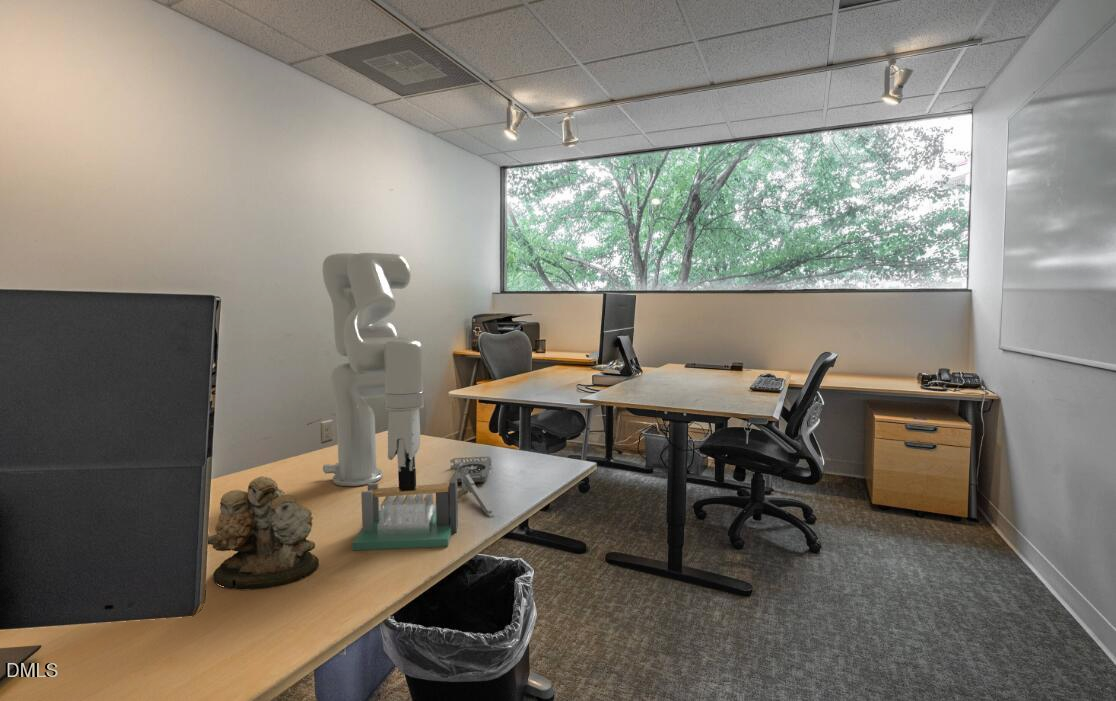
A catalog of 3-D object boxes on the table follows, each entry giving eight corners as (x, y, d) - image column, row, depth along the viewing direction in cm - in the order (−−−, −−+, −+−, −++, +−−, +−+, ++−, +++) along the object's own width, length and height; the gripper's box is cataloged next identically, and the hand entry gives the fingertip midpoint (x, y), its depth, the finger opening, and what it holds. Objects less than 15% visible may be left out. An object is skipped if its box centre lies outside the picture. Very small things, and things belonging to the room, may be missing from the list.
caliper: (461, 490, 135) (460, 466, 134) (465, 489, 135) (465, 465, 134) (489, 519, 117) (489, 491, 116) (494, 518, 117) (494, 490, 116)
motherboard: (352, 550, 101) (350, 502, 100) (374, 517, 117) (372, 475, 116) (447, 546, 103) (446, 498, 102) (456, 513, 119) (455, 472, 118)
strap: (365, 498, 107) (364, 493, 107) (369, 493, 110) (368, 488, 110) (448, 493, 108) (448, 487, 108) (450, 487, 111) (449, 482, 111)
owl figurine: (191, 595, 86) (184, 493, 85) (225, 561, 98) (219, 471, 96) (308, 585, 89) (303, 486, 87) (328, 553, 100) (323, 465, 99)
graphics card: (450, 457, 153) (492, 455, 153) (451, 469, 153) (493, 467, 154) (441, 476, 136) (487, 474, 137) (441, 490, 137) (488, 488, 137)
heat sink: (377, 535, 104) (376, 505, 104) (389, 515, 114) (388, 488, 114) (429, 533, 105) (428, 503, 105) (436, 513, 115) (435, 486, 115)
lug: (436, 533, 109) (435, 483, 108) (439, 525, 112) (437, 477, 111) (456, 532, 109) (455, 482, 108) (458, 525, 113) (457, 477, 112)
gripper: (394, 395, 115) (396, 477, 116) (376, 408, 100) (380, 502, 101) (429, 394, 115) (431, 476, 117) (417, 407, 100) (419, 501, 102)
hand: (407, 488), depth 109 cm, fingers closed
